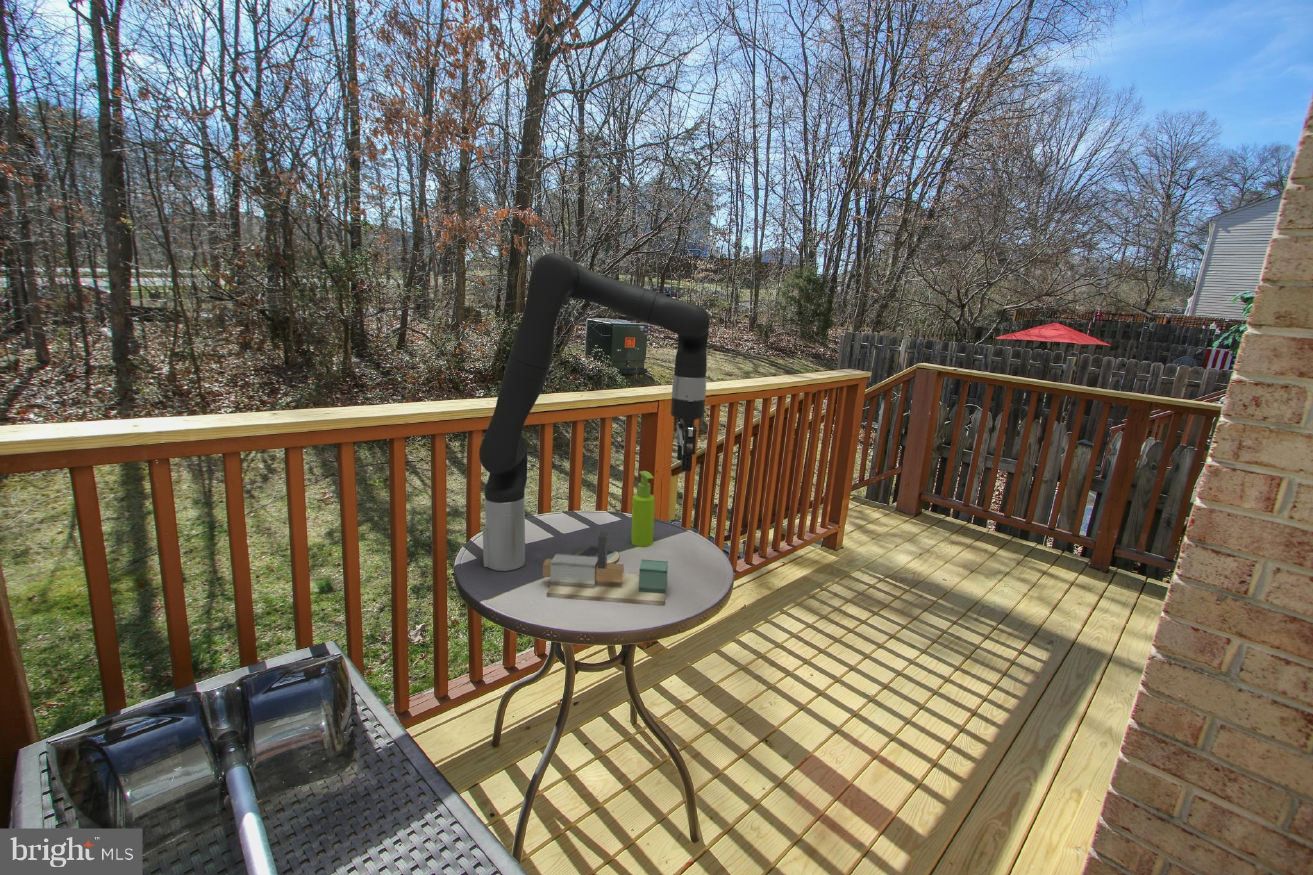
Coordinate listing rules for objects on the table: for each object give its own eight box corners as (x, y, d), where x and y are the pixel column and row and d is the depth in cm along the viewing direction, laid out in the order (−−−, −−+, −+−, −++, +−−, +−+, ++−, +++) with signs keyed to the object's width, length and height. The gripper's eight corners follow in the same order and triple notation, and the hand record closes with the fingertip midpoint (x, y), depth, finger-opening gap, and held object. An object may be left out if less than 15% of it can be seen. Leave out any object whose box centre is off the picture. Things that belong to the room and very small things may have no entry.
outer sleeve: (550, 585, 138) (550, 562, 137) (555, 575, 143) (555, 553, 142) (594, 588, 137) (594, 565, 136) (598, 578, 142) (598, 556, 141)
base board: (546, 596, 135) (546, 592, 135) (559, 572, 146) (559, 568, 146) (664, 605, 133) (664, 601, 133) (667, 580, 145) (667, 576, 144)
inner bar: (543, 576, 139) (542, 533, 136) (546, 570, 142) (546, 528, 139) (621, 582, 138) (622, 538, 135) (623, 576, 140) (624, 533, 138)
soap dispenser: (637, 549, 161) (639, 477, 157) (628, 539, 168) (630, 469, 163) (657, 546, 164) (660, 475, 159) (647, 537, 170) (650, 468, 165)
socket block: (638, 591, 137) (639, 569, 135) (640, 581, 141) (641, 559, 140) (665, 593, 136) (666, 570, 135) (666, 583, 141) (667, 561, 140)
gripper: (668, 390, 143) (664, 456, 147) (675, 401, 130) (670, 474, 133) (700, 391, 144) (695, 457, 148) (710, 402, 130) (704, 475, 134)
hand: (683, 465), depth 141 cm, fingers open, 8 cm apart
